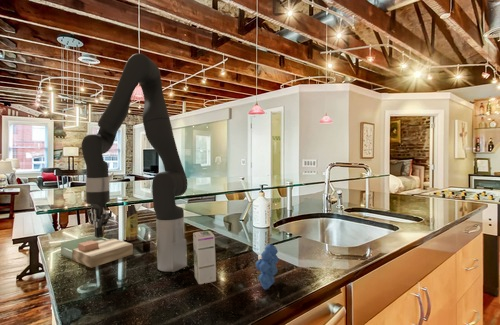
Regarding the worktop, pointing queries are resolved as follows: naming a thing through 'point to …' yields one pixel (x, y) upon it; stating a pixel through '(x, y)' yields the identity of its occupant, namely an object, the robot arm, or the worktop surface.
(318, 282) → the worktop surface
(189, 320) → the worktop surface
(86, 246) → the terracotta tile
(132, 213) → the sauce bottle
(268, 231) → the worktop surface
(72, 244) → the box
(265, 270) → the grapes
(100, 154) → the robot arm
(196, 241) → the syrup box
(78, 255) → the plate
